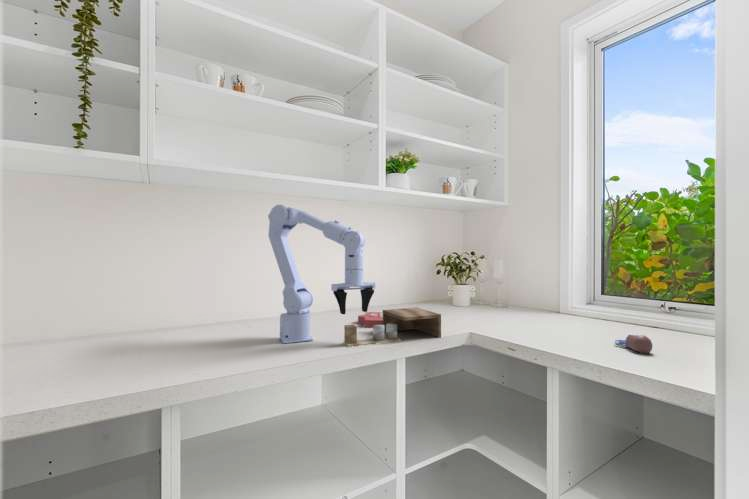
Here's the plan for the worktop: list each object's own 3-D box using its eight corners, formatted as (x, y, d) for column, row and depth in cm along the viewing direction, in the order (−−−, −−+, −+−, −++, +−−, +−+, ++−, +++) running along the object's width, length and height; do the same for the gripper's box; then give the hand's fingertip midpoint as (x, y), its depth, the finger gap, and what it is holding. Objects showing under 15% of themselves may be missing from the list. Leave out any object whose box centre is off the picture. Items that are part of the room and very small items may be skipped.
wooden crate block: (404, 341, 107) (404, 317, 107) (382, 331, 122) (382, 309, 122) (441, 337, 113) (441, 314, 113) (416, 327, 128) (416, 307, 128)
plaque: (359, 310, 146) (393, 310, 146) (359, 319, 146) (393, 319, 146) (356, 318, 128) (396, 318, 128) (356, 328, 128) (396, 328, 128)
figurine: (609, 350, 104) (640, 355, 93) (607, 332, 105) (637, 336, 94) (626, 349, 104) (659, 355, 93) (624, 332, 105) (656, 335, 94)
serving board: (348, 347, 102) (348, 327, 102) (343, 343, 106) (343, 324, 106) (400, 342, 108) (400, 323, 108) (393, 338, 113) (393, 320, 113)
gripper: (338, 270, 99) (338, 316, 99) (380, 269, 107) (380, 312, 107) (328, 269, 105) (328, 313, 105) (369, 268, 113) (369, 309, 113)
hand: (353, 312), depth 106 cm, fingers open, 7 cm apart
